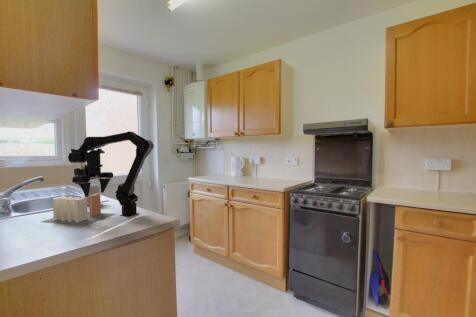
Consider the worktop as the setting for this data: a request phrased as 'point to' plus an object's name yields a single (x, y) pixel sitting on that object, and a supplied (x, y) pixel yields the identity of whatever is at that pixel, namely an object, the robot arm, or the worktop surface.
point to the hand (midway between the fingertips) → (94, 194)
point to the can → (92, 191)
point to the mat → (82, 223)
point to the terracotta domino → (94, 204)
